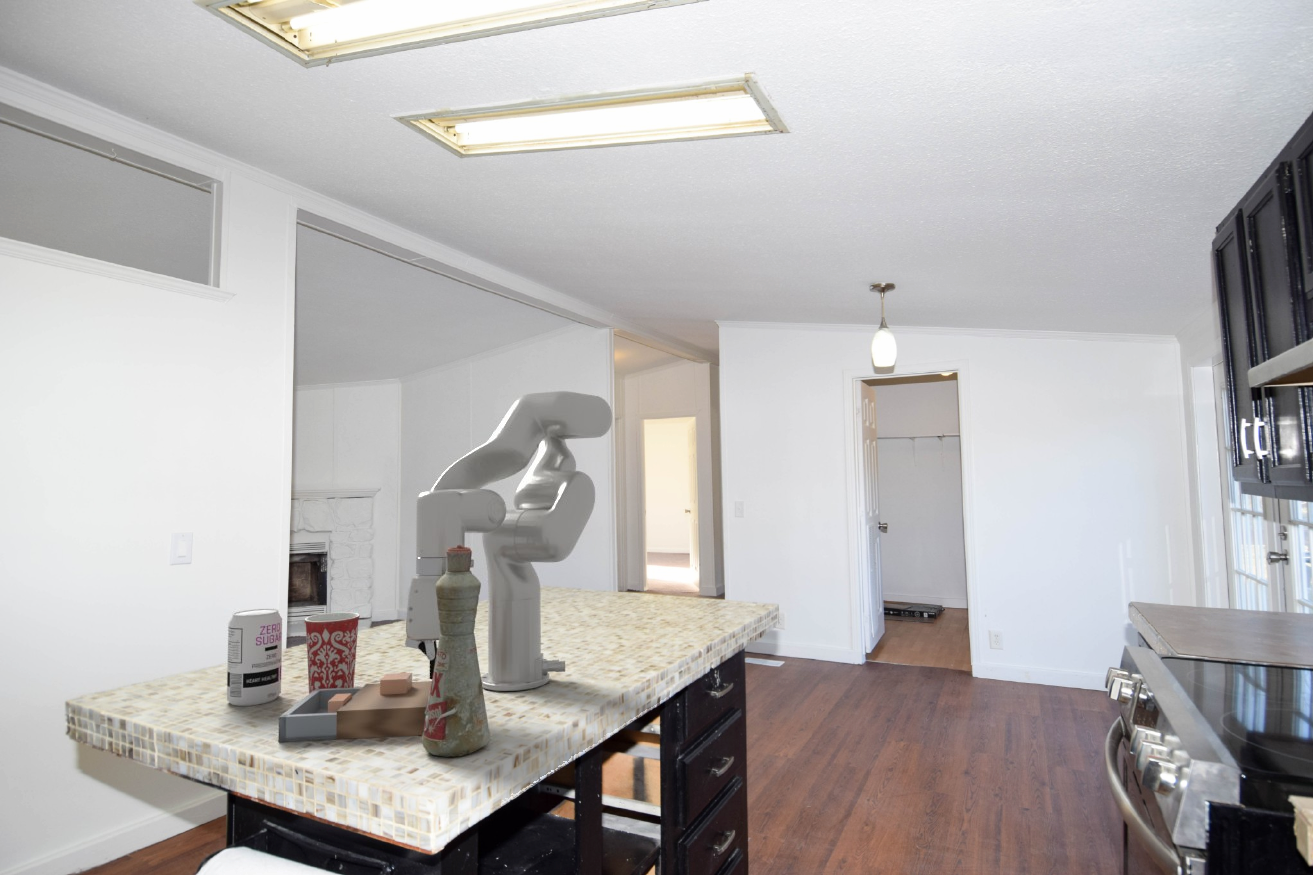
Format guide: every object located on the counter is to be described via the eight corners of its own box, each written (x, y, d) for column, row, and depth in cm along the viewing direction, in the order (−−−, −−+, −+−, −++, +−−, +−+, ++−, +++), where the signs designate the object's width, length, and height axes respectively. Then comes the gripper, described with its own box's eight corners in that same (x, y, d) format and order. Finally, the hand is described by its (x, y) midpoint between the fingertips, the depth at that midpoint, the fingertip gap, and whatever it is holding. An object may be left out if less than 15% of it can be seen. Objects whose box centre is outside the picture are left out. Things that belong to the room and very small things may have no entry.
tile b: (412, 686, 121) (412, 672, 121) (406, 693, 117) (406, 678, 117) (386, 687, 120) (386, 673, 121) (380, 694, 117) (380, 680, 117)
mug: (354, 698, 129) (354, 619, 130) (297, 702, 127) (298, 621, 128) (366, 680, 141) (367, 607, 142) (315, 683, 140) (316, 610, 140)
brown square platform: (447, 705, 124) (447, 680, 124) (428, 734, 109) (428, 706, 110) (366, 708, 123) (366, 683, 123) (336, 739, 108) (336, 710, 108)
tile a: (351, 693, 115) (336, 694, 115) (343, 700, 111) (327, 701, 111) (351, 719, 115) (336, 720, 115) (343, 728, 111) (327, 728, 111)
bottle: (485, 758, 99) (484, 545, 101) (415, 761, 99) (416, 547, 100) (494, 736, 108) (493, 541, 110) (429, 739, 107) (430, 542, 109)
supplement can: (240, 694, 133) (241, 608, 134) (288, 692, 134) (289, 607, 134) (217, 707, 125) (219, 616, 126) (268, 705, 125) (270, 615, 126)
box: (366, 708, 123) (366, 686, 123) (336, 739, 108) (336, 714, 108) (315, 710, 122) (315, 689, 122) (278, 742, 107) (278, 717, 107)
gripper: (490, 563, 125) (490, 675, 124) (398, 566, 124) (397, 679, 122) (484, 568, 118) (484, 687, 116) (386, 571, 116) (385, 691, 115)
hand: (440, 683), depth 119 cm, fingers closed
